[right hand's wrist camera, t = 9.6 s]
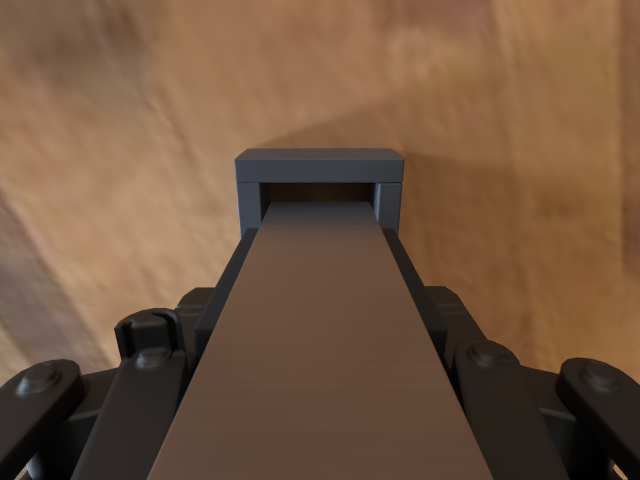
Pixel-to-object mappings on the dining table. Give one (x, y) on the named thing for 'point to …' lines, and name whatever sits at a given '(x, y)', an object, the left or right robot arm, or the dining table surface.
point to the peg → (320, 366)
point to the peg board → (318, 178)
